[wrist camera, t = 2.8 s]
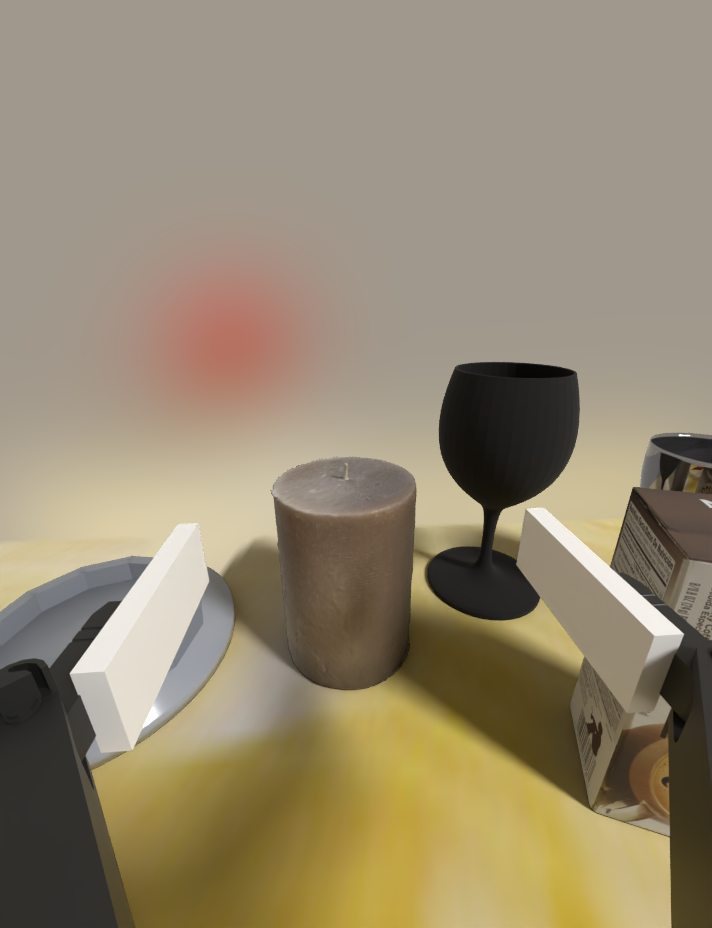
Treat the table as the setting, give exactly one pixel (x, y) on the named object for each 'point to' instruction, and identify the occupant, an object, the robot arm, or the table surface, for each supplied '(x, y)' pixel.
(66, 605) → the candle plate
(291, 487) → the pillar candle
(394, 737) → the table surface
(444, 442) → the wine glass
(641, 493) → the coffee box
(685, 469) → the wine glass
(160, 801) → the table surface
